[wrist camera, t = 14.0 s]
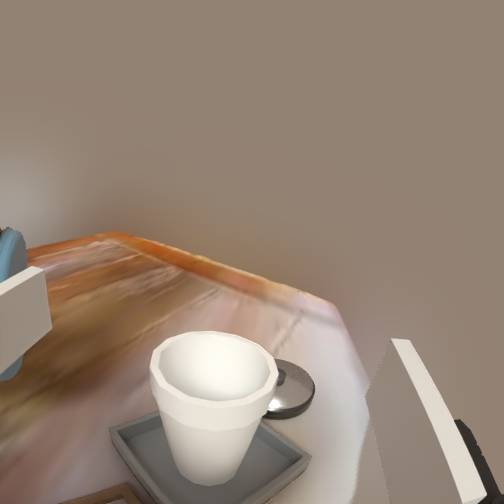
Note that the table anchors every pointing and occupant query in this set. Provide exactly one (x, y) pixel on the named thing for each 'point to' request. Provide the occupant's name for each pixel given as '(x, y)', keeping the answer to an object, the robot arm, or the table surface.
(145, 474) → the tray
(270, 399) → the foam cup
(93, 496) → the square wooden frame
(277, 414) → the metal pot lid
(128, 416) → the table surface
